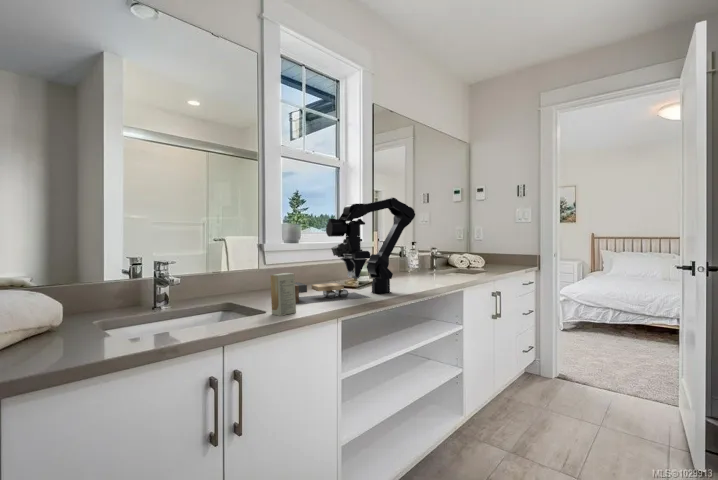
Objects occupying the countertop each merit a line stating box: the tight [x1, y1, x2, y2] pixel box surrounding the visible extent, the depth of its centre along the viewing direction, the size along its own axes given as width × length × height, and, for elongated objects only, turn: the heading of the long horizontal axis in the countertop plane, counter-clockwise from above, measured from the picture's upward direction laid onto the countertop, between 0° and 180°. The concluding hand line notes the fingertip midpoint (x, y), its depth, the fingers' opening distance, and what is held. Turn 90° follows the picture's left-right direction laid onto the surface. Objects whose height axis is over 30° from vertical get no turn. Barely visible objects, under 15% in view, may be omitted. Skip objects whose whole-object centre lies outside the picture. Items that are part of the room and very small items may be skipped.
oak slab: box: [311, 282, 345, 292], centre depth 141 cm, size 10×8×2 cm
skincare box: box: [270, 272, 297, 317], centre depth 114 cm, size 6×4×12 cm
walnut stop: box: [295, 281, 308, 303], centre depth 136 cm, size 6×10×6 cm, turn 25°
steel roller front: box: [322, 290, 336, 299], centre depth 141 cm, size 3×6×3 cm
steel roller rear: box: [334, 288, 349, 298], centre depth 143 cm, size 3×6×3 cm
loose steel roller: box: [346, 270, 361, 280], centre depth 146 cm, size 3×6×3 cm, turn 25°
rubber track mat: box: [296, 291, 372, 306], centre depth 141 cm, size 30×16×1 cm, turn 115°
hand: (353, 276), depth 146 cm, fingers closed on loose steel roller, 6 cm apart
